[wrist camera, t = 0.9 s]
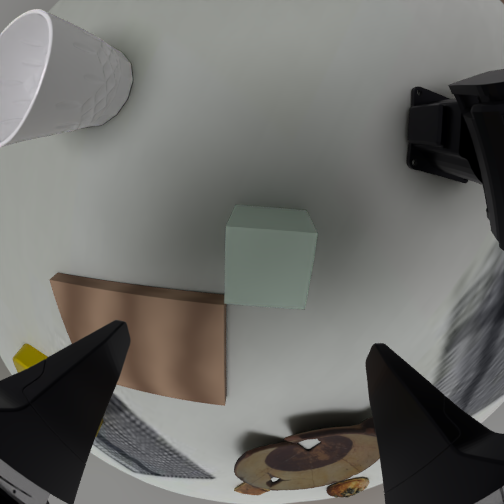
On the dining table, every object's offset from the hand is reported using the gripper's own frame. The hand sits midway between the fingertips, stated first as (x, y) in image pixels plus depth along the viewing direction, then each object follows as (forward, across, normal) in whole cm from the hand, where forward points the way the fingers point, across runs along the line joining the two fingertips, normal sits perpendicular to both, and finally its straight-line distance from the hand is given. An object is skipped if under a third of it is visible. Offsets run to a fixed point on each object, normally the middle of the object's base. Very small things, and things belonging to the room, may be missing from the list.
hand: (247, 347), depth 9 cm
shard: (+12, -2, +60) cm, 61 cm away
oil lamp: (+12, -13, +32) cm, 36 cm away
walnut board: (+12, +11, +13) cm, 21 cm away
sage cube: (+12, -1, +1) cm, 12 cm away
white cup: (+12, +13, -11) cm, 21 cm away
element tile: (+12, +30, +29) cm, 44 cm away
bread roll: (+12, -27, +62) cm, 68 cm away
